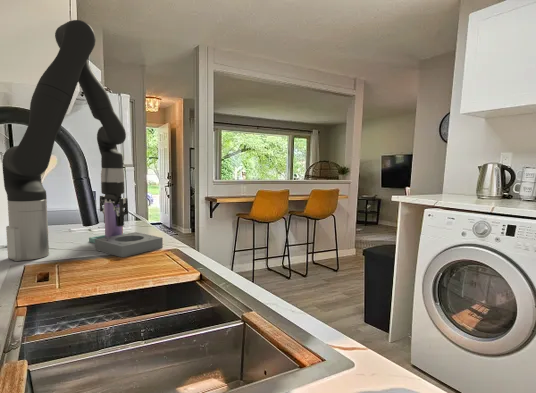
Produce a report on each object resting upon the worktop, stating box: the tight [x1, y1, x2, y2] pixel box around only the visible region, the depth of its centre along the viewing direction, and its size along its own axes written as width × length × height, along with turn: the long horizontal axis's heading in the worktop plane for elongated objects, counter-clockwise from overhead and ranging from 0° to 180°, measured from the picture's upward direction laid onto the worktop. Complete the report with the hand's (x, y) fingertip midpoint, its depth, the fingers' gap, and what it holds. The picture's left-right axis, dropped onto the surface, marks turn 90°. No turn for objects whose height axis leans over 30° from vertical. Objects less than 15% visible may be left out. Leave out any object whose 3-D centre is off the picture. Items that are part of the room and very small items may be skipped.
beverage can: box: [103, 201, 124, 237], centre depth 115 cm, size 6×6×15 cm
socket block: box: [94, 231, 164, 258], centre depth 106 cm, size 15×15×4 cm
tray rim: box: [88, 232, 126, 244], centre depth 116 cm, size 12×12×2 cm
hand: (113, 224), depth 115 cm, fingers open, 8 cm apart
